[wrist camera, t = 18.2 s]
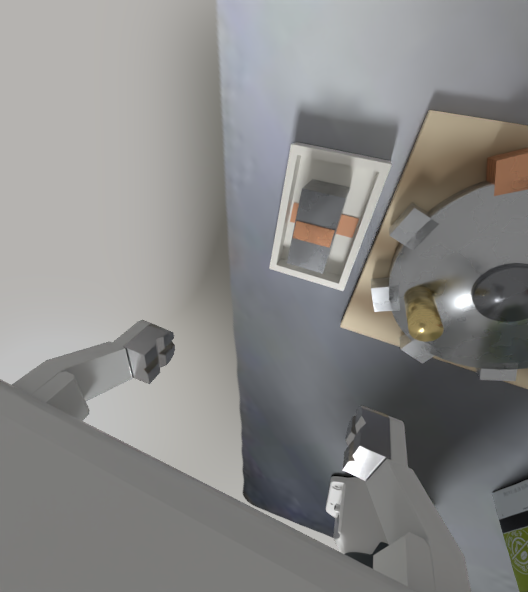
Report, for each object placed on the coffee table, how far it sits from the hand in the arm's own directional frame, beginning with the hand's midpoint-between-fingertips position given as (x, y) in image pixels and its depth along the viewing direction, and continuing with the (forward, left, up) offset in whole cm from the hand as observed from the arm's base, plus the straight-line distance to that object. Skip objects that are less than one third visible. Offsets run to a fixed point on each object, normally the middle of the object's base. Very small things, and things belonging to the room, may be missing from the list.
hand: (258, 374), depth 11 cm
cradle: (0, +1, -21) cm, 21 cm away
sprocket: (-1, -16, -20) cm, 25 cm away
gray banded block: (0, +1, -20) cm, 20 cm away
